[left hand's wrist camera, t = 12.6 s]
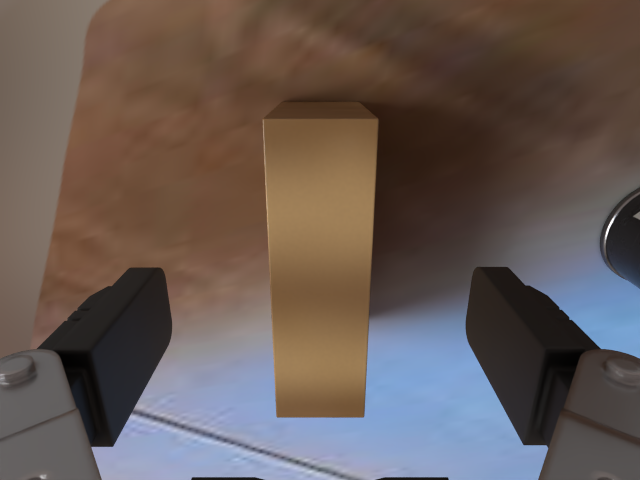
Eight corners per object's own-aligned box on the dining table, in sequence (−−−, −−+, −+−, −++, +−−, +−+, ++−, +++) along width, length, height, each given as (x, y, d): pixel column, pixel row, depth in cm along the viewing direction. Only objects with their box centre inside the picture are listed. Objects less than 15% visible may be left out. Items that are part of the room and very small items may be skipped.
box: (281, 101, 34) (262, 118, 23) (359, 101, 34) (379, 118, 23) (288, 321, 42) (276, 417, 30) (352, 321, 42) (364, 417, 30)
